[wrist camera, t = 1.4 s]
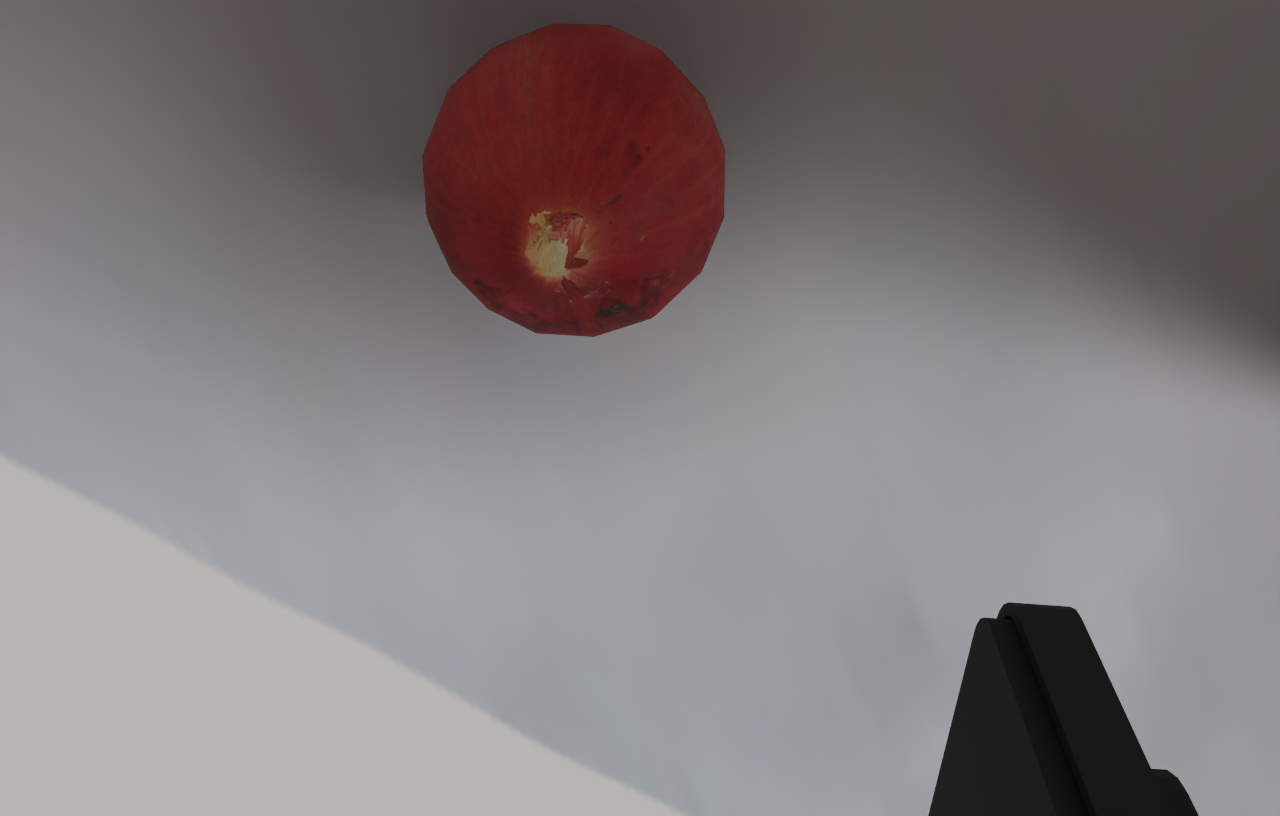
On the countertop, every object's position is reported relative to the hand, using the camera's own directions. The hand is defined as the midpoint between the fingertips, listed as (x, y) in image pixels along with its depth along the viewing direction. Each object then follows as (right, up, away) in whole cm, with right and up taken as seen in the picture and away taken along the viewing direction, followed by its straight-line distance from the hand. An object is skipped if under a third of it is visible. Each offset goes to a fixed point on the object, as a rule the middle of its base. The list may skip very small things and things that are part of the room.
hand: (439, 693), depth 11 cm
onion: (+1, +9, +16) cm, 18 cm away
